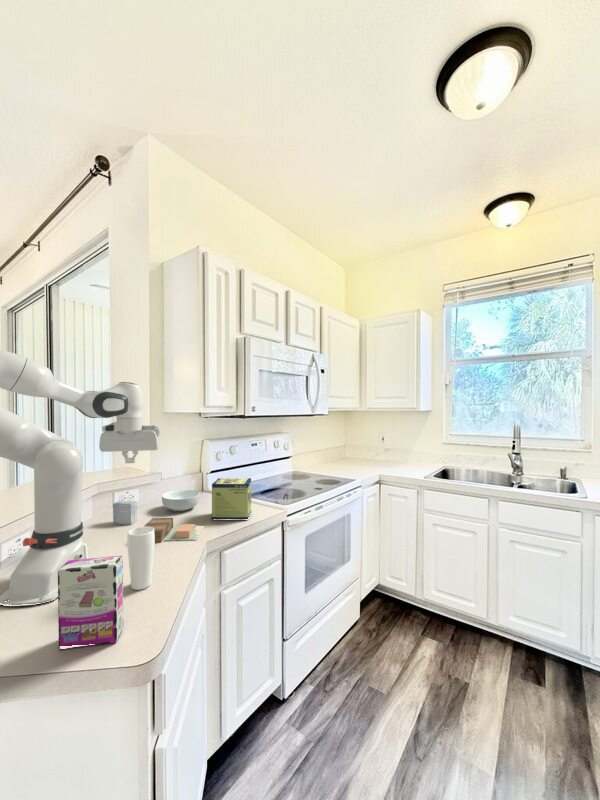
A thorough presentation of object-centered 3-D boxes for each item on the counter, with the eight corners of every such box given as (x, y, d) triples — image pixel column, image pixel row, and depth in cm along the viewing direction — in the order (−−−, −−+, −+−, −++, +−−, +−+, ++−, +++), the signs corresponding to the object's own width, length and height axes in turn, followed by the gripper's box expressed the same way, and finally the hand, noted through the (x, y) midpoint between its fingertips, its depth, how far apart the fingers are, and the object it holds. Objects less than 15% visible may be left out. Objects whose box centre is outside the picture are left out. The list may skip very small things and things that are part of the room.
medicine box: (137, 521, 145) (137, 500, 145) (131, 525, 141) (131, 503, 141) (119, 520, 146) (119, 500, 146) (112, 524, 141) (112, 503, 141)
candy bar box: (124, 628, 77) (124, 554, 77) (116, 643, 72) (116, 564, 72) (68, 634, 75) (68, 558, 75) (57, 651, 70) (56, 570, 70)
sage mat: (196, 540, 125) (196, 539, 125) (164, 541, 125) (164, 540, 125) (205, 526, 139) (205, 525, 139) (175, 526, 138) (175, 525, 138)
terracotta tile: (175, 531, 126) (175, 538, 126) (189, 531, 126) (189, 537, 126) (181, 524, 133) (181, 530, 133) (194, 524, 133) (194, 530, 133)
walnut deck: (161, 542, 123) (161, 531, 123) (138, 543, 123) (137, 531, 123) (173, 527, 137) (173, 517, 137) (152, 528, 137) (152, 518, 137)
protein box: (248, 520, 145) (248, 483, 145) (211, 520, 145) (211, 483, 145) (251, 512, 156) (251, 477, 156) (217, 512, 156) (217, 477, 156)
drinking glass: (147, 576, 100) (147, 524, 100) (159, 584, 95) (159, 529, 95) (123, 586, 94) (122, 531, 94) (134, 595, 90) (134, 537, 90)
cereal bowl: (184, 516, 150) (184, 500, 150) (153, 512, 156) (153, 497, 156) (207, 505, 167) (207, 490, 167) (178, 502, 172) (178, 487, 172)
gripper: (161, 424, 134) (161, 460, 134) (104, 425, 131) (104, 462, 131) (157, 426, 128) (157, 463, 128) (97, 427, 125) (97, 465, 125)
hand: (130, 463), depth 130 cm, fingers closed
